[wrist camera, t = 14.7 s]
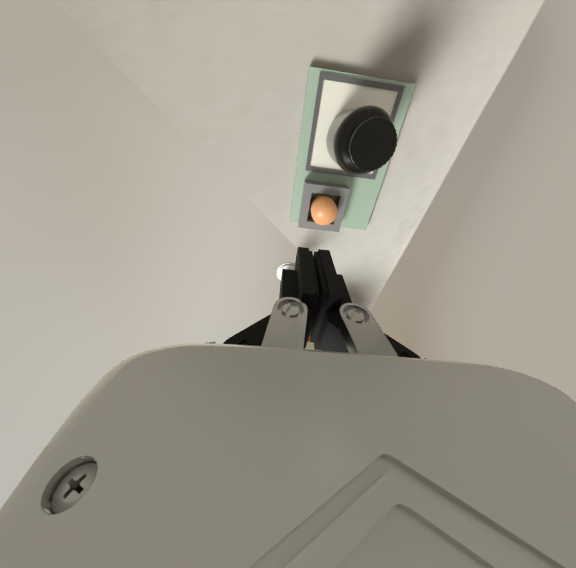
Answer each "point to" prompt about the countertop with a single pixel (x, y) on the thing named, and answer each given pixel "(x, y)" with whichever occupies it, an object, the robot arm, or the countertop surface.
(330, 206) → the button
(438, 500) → the robot arm
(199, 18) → the countertop surface
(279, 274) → the screw
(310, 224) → the mint green tray
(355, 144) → the supplement bottle
